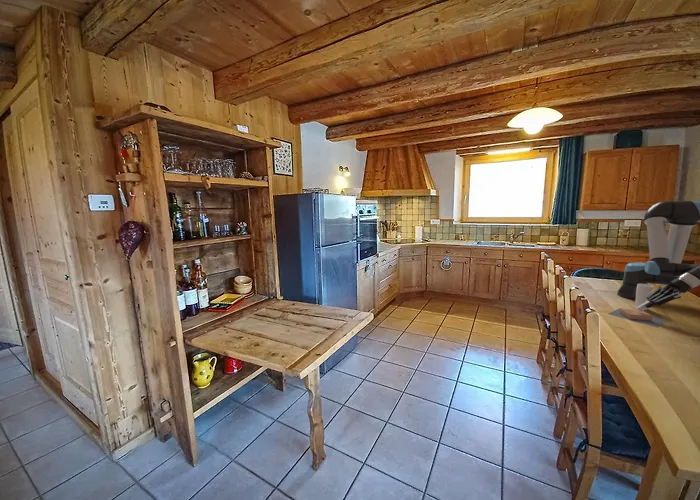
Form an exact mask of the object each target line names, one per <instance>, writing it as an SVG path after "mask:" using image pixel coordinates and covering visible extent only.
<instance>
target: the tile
mask: <svg viewBox="0 0 700 500" xmlns="http://www.w3.org/2000/svg"><path fill="white" fill-rule="evenodd" d="M620 313H621V314H622V315H624V316H626V317H627V318H629V319H638V320H649V321H650V320H651V321H652V318H653V317H654V316H653V315H651V314H649V313H648V312H646V311H645V310H644V311H642V312H641V311H639V310H638V309H628V308H622V309H620Z"/></svg>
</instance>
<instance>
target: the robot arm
mask: <svg viewBox="0 0 700 500" xmlns="http://www.w3.org/2000/svg"><path fill="white" fill-rule="evenodd" d="M699 222H700V200H662V201H660V202H659V201H658V202H656V203H655V204H653V205H651V206H650V207H649V208H648V209H647V210H646V212H645V214H644V215H643V223H644V224H645V225H646V232H647V241H648V253H649V260H648V261H646V262H642V261H641V262H638V261H637V262H629V263H627V264H626V265H625V268H624V273H623V274H624V275H623V279H622V284H621V285H620V287H619V288H618V290H617V291H616V292H617V296H619V297H622V298H625V299H630V300H634V301H636V288H637V284H648V285H649V284H650V285H651V284H653V285H661V286H658V287H657V288H656V289H655V290H653V293H651V294H650V295H649V296H648V297H646V298H647V301H645V302H644V303H642V304H641V305H639V306H637V307H636V308H635V309H636V310H639V311H641V312H642V311H644V312H645V311H647V310H648V309H650V308H651V307H653V306H658V307H659V306H662V305H665V304H667V303H669V302H672V301H674V300H678V299H681V298H682V296H681V295H680V294H681V293H682V294H685V293H687V292H689V291H691V290H692V289H694V288H696V287H698V286H699V285H700V263H699V264H697V263H696V264H694V263H693V264H691V263H682V261H683V259H684V255H685V251H686V249H687V246H688V242H689V239H690V235H691V233H692V230H693V228H694V227H695V226H698V225H699ZM666 223H667V224H669V229H668V233H667V226H666ZM662 285H663V286H662ZM647 308H648V309H647ZM646 309H647V310H646Z"/></svg>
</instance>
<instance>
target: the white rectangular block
mask: <svg viewBox="0 0 700 500" xmlns="http://www.w3.org/2000/svg"><path fill="white" fill-rule="evenodd" d="M653 292H654V285H651V284H649V283H648V284H637V288H636V300H634V301H635V305H634V308H635V309H637V308H636V307H637V306H639V305H641V304H642V303H644V302H645V301H647V298H646V297H648V296H649V295H650V294H651V293H653ZM648 309H649V308H647V309H646V310H645V311H647V310H648Z"/></svg>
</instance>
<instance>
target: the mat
mask: <svg viewBox="0 0 700 500" xmlns="http://www.w3.org/2000/svg"><path fill="white" fill-rule="evenodd" d="M620 309H623V308H617V309H614V310H613V311H611V312H608V313H607V314H608V315H610V316H614V317H619V318H621V319H625V320H629V321H632V322H636V323H639V324H642V325H643V324H644V325H646V326H650V327H654V328H659V327H661V326H662V325H664V324H666V323H667V322H669V320H667V319H664V318H660V317H656V316H653V318H652V321H651V320H650V321H649V320H638V319H629V318H627V317H626V316H624V315H622V314H621V313H620Z"/></svg>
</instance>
